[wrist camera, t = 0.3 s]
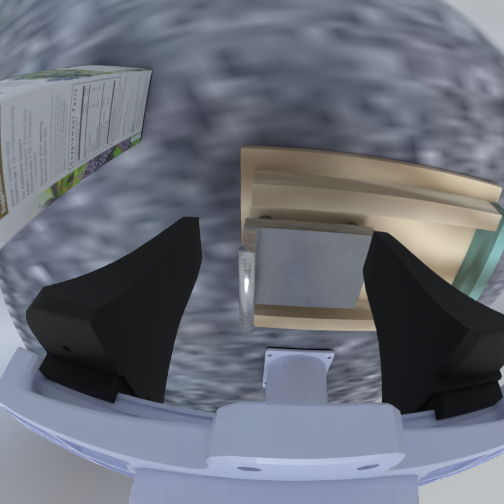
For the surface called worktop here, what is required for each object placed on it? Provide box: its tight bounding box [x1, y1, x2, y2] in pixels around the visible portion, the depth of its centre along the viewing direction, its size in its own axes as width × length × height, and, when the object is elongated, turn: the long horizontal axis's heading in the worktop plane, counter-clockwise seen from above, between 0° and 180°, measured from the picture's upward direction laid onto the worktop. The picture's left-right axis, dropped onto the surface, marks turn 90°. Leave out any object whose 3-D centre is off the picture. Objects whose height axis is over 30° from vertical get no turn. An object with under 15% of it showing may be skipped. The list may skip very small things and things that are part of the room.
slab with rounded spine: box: [238, 215, 375, 334], centre depth 20 cm, size 7×9×6 cm
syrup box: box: [0, 65, 152, 249], centre depth 11 cm, size 6×6×14 cm
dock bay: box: [241, 145, 504, 331], centre depth 21 cm, size 16×22×4 cm
